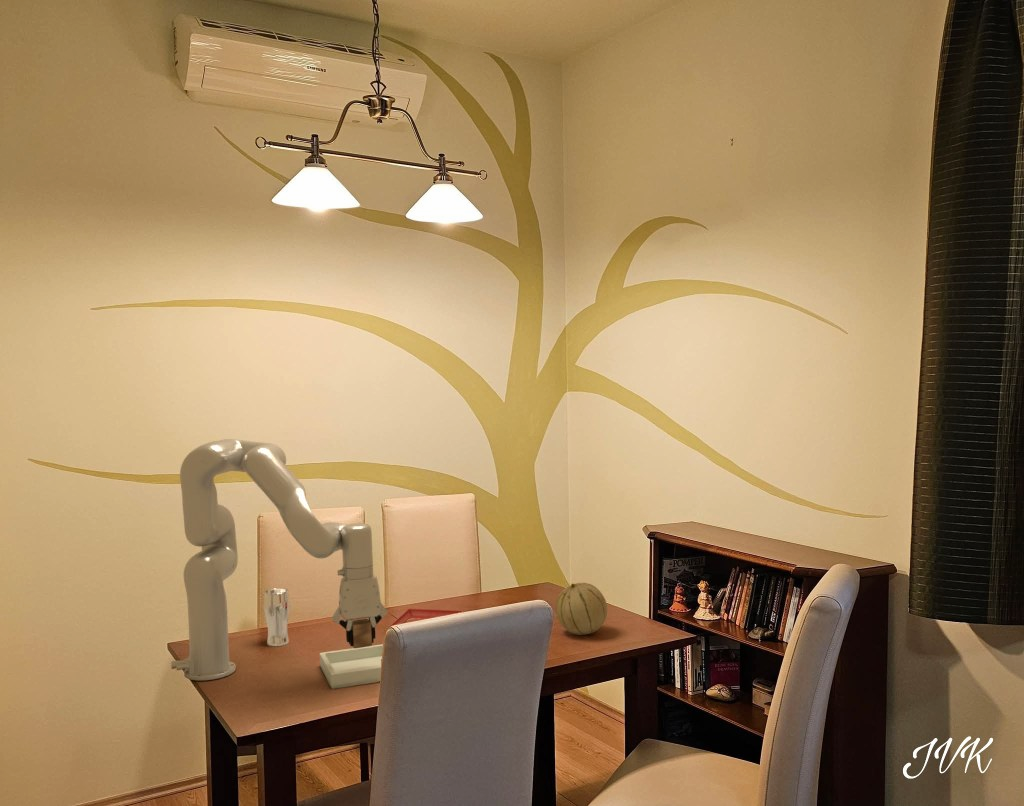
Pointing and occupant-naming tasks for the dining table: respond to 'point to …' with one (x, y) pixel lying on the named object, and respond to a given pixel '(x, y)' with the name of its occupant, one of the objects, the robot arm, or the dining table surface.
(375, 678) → the tray
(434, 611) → the plant saucer
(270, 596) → the beer glass
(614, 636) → the dining table surface
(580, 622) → the cantaloupe
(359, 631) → the block
